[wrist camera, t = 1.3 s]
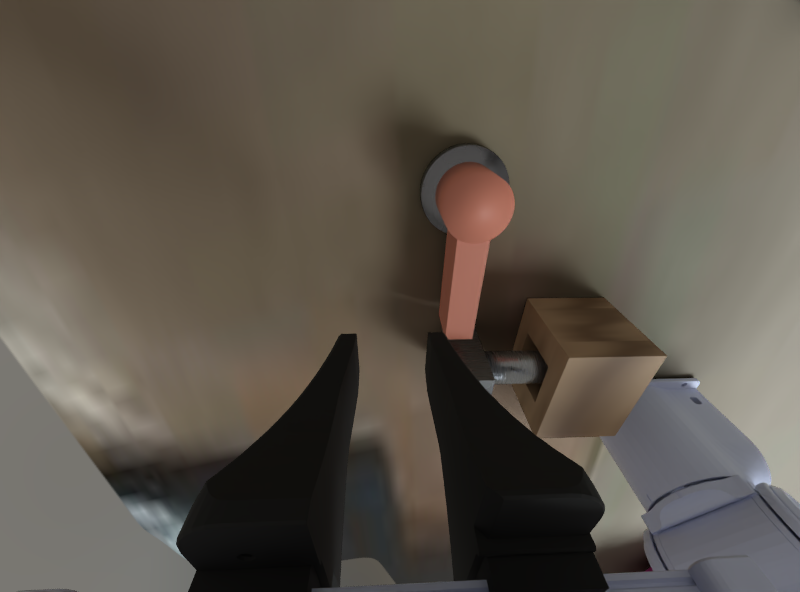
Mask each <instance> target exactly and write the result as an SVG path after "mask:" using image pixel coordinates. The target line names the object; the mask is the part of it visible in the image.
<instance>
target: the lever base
mask: <svg viewBox="0 0 800 592" xmlns="http://www.w3.org/2000/svg"><path fill="white" fill-rule="evenodd" d="M463 162H476V163H480V164H482V165H484V166H485V167H487V168H488V169H490V170H491V171H492V172H494V173H495V174H497V175H498V176H499V177H501V178H502V179H504V180H505V181H506V182H507V183H508V184H509V176H508V173H507V170H506V167H505V165H504V164H503V162H502V160H501V159H500V158H499V157H498V156H497V155H496V154H495V153H494V152H492V151H490V150H489V149H487V148H485V147H482V146H480V145H476V144H469V143H467V144H459V145H455V146H452V147H449V148H448V149H446V150H444V151H442V152H441V153H439V154H438V155H437V156H436V157H435V158H434V159H433V160H432V161H431V163H430V164H429V165H428V167H427V169H426V171H425V173H424V175H423V178H422V181H421V187H420V198H421V203H422V206H423V209H424V212H425V214H426V216H427V218H428V219H429V221H430V222H431V223H432V224H433V225H434V226H435V227H436V228H438V229H439V230H441V231H443V232H445V233H447V227H446V225H445V223H444V221H443V219H442V217H441V215H440V212H439V210H438V208H437V205H436V200H435V194H436V189H437V185H438V183H439V181H440V179H441V178H442V176H443V175H444V174H445V173H446V172H447V171H448V170H449V169H450V168H452V167H453V166H455V165H457V164H460V163H463Z"/></svg>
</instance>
